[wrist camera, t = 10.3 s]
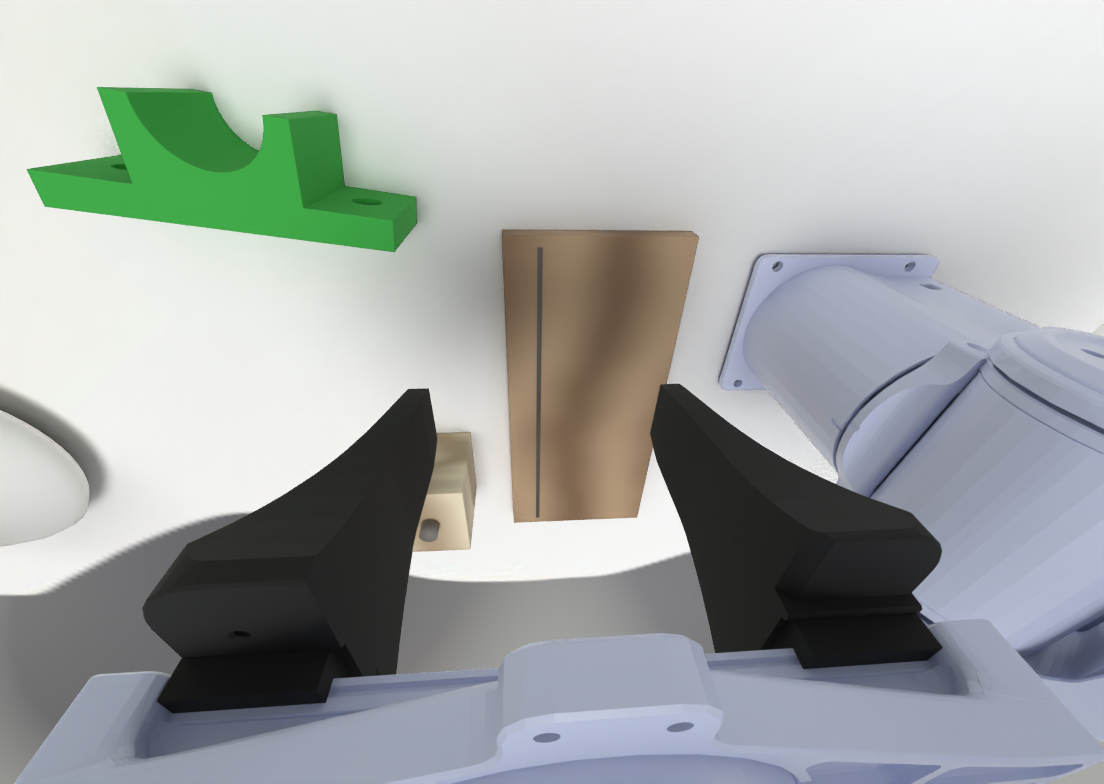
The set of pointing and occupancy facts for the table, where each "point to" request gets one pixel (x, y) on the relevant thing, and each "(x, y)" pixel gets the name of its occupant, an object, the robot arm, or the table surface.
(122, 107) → the pipe clamp
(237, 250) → the table surface
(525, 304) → the board
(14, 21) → the table surface
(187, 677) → the robot arm
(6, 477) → the flower in vase
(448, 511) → the beige boxy piece
